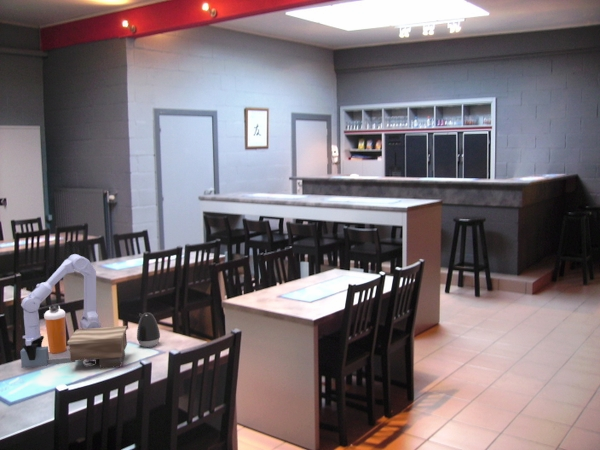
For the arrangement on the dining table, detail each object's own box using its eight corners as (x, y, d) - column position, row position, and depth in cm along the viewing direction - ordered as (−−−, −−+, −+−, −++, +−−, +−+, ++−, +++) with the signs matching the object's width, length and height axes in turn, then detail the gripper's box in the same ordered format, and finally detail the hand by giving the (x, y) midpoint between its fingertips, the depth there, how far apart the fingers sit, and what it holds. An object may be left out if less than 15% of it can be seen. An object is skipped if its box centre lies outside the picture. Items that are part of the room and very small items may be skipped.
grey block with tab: (24, 364, 263) (23, 348, 262) (76, 360, 266) (75, 344, 265) (21, 367, 259) (20, 351, 258) (74, 363, 262) (72, 347, 261)
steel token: (84, 362, 263) (84, 359, 263) (96, 361, 263) (96, 358, 263) (82, 367, 258) (81, 363, 258) (94, 366, 259) (94, 362, 258)
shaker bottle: (48, 355, 273) (44, 311, 270) (46, 350, 281) (42, 306, 278) (69, 351, 277) (66, 308, 274) (67, 346, 285) (63, 303, 282)
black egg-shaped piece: (150, 340, 289) (147, 308, 287) (165, 344, 283) (163, 311, 281) (132, 346, 281) (130, 313, 279) (147, 350, 275) (145, 317, 273)
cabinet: (78, 358, 268) (76, 329, 267) (128, 354, 271) (126, 325, 269) (70, 372, 251) (67, 341, 250) (123, 367, 254) (121, 337, 253)
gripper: (27, 321, 266) (29, 352, 268) (16, 331, 252) (19, 363, 253) (44, 320, 267) (46, 350, 269) (34, 329, 253) (37, 362, 254)
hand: (34, 357), depth 261 cm, fingers open, 7 cm apart
